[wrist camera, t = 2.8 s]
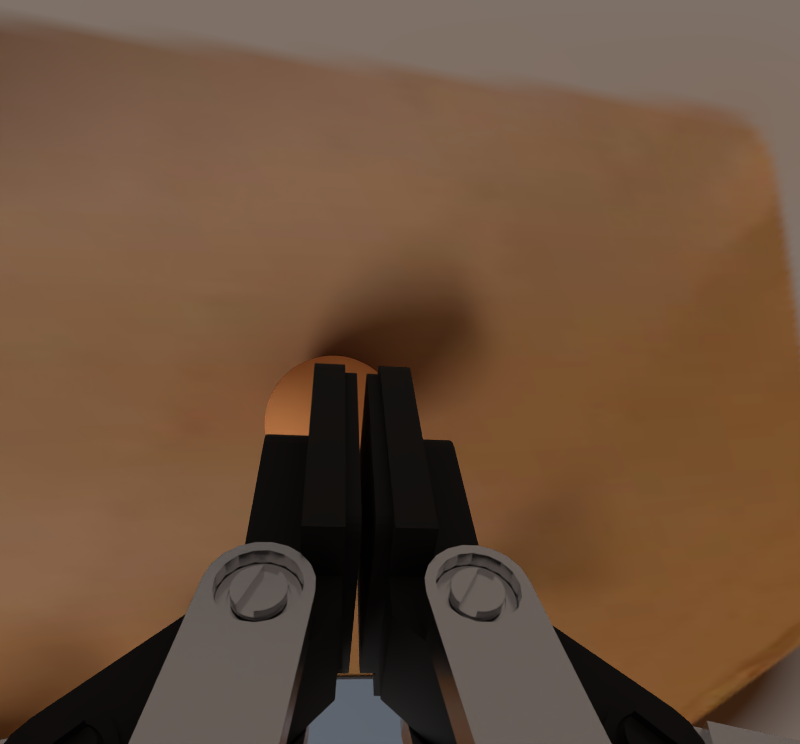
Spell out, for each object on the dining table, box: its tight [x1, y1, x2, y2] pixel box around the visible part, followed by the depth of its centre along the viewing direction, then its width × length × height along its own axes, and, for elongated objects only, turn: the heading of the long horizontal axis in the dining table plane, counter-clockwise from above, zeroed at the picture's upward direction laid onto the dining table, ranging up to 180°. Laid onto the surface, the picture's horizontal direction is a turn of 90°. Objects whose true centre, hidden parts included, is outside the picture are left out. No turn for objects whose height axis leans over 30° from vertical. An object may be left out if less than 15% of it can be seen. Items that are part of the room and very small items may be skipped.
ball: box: [265, 356, 378, 445], centre depth 28 cm, size 6×6×6 cm
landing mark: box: [307, 676, 403, 744], centre depth 45 cm, size 14×14×1 cm
